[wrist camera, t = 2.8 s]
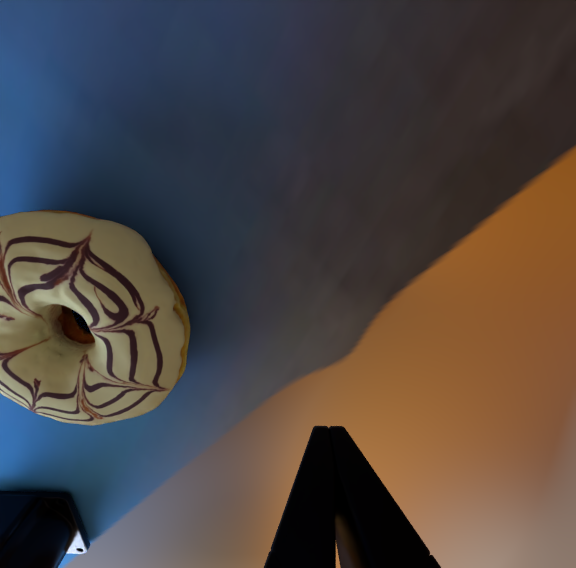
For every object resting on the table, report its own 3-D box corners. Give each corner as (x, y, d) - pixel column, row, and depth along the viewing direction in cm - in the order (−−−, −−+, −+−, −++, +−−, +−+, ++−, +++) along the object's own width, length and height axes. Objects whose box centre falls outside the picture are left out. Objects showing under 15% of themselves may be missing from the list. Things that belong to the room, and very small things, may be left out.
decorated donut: (155, 179, 14) (107, 184, 10) (226, 368, 18) (209, 419, 14) (-41, 231, 15) (-145, 252, 11) (66, 399, 19) (13, 454, 15)
